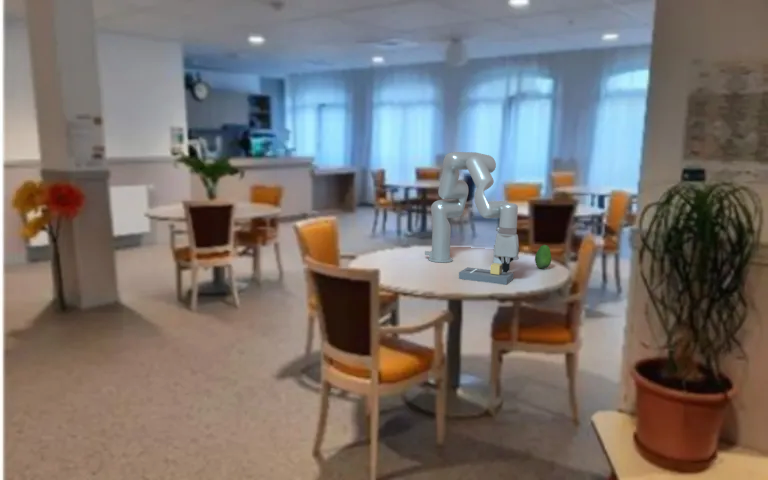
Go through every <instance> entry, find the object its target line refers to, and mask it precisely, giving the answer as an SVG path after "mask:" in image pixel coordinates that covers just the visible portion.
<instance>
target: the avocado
mask: <svg viewBox="0 0 768 480" xmlns="http://www.w3.org/2000/svg"><path fill="white" fill-rule="evenodd" d="M551 253H552V252H551V249H550V247H549V245H546V244H543V245H541V246H539V248H538V249H537V252H536V253H535V256H534V262H535V265H536V267H537V268H538V269H541V270H545V269H547V268H549V267H550V264H551V262H552V254H551Z"/></svg>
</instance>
